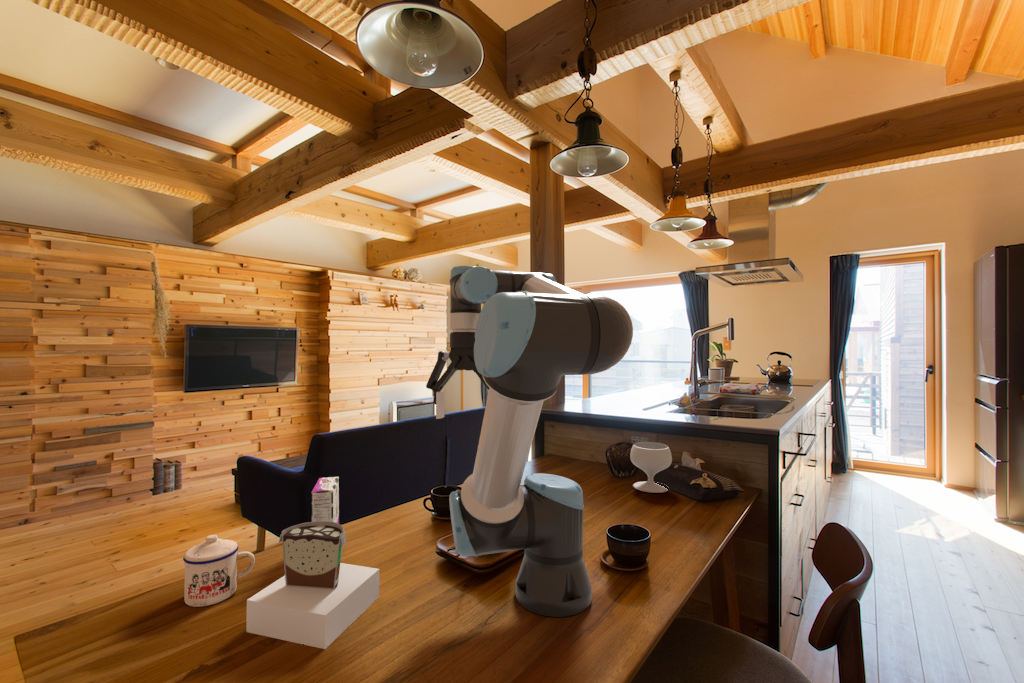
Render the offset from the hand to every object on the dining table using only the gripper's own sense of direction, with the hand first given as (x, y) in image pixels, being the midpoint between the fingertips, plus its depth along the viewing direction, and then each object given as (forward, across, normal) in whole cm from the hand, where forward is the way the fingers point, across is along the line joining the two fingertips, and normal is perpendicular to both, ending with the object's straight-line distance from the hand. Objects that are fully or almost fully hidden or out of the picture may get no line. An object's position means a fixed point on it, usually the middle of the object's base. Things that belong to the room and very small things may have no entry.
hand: (465, 420), depth 109 cm
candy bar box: (+32, +31, +12) cm, 46 cm away
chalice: (+32, -38, -68) cm, 84 cm away
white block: (+32, +14, +32) cm, 48 cm away
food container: (+26, +15, +31) cm, 43 cm away
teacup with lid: (+32, +37, +34) cm, 60 cm away
